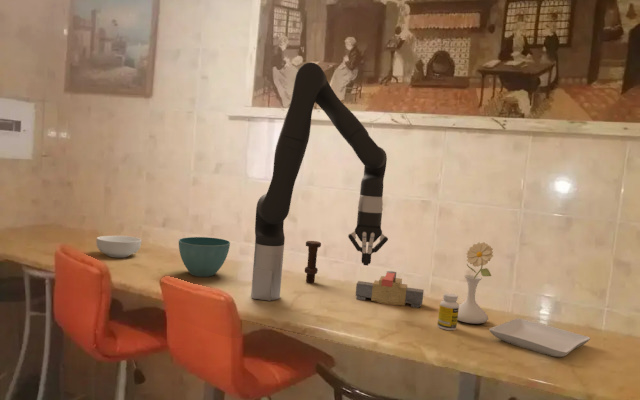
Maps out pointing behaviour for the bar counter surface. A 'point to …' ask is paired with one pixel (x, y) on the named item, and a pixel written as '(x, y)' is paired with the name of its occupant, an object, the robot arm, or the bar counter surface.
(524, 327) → the salad plate
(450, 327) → the supplement bottle
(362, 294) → the pipe and valve
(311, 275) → the bolt
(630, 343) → the bar counter surface
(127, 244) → the cereal bowl
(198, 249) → the teal bowl
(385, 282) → the lever
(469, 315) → the flower in vase
